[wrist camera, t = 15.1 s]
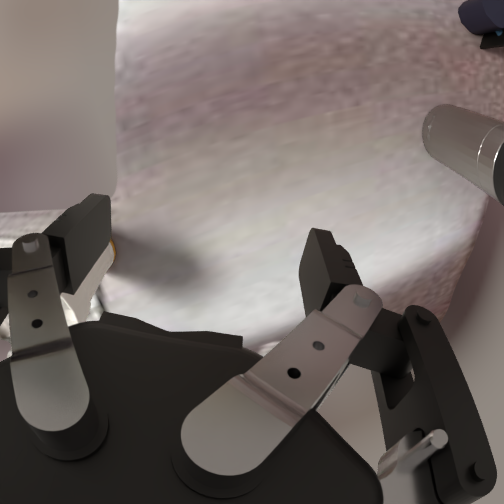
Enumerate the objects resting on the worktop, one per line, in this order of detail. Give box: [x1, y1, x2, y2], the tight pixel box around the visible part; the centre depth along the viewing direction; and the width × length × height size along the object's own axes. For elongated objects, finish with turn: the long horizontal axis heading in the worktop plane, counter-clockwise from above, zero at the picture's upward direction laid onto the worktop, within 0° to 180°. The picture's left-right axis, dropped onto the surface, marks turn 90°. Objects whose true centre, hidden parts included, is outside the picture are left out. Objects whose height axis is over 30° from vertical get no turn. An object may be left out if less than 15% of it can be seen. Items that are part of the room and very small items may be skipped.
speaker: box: [458, 0, 504, 49], centre depth 24 cm, size 8×6×10 cm
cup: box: [60, 239, 116, 326], centre depth 43 cm, size 11×11×17 cm
